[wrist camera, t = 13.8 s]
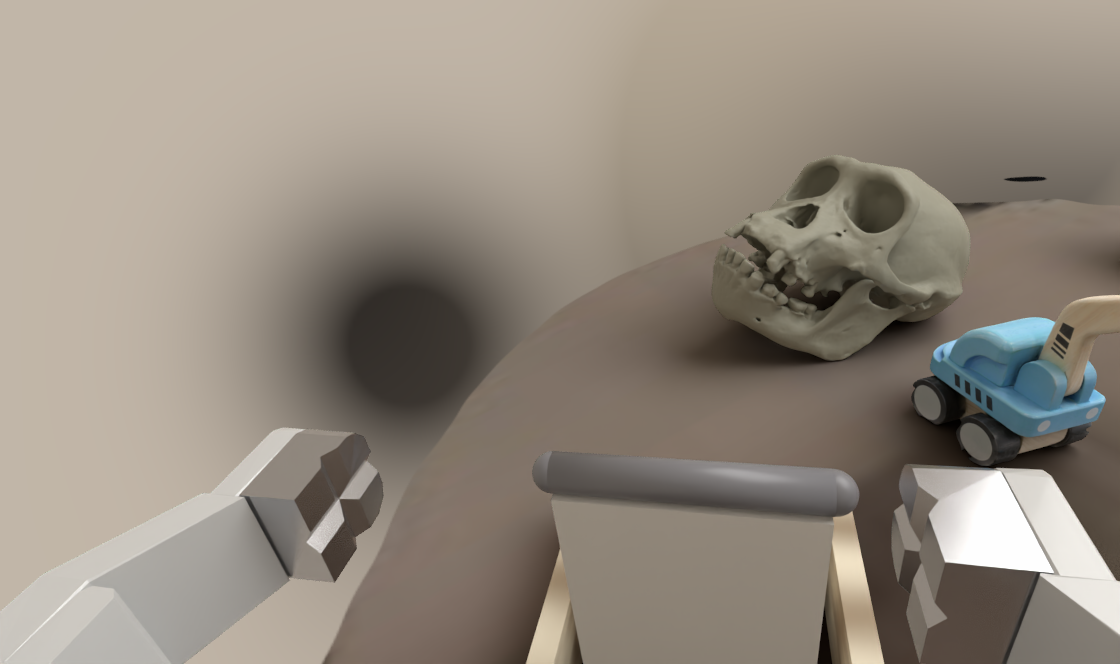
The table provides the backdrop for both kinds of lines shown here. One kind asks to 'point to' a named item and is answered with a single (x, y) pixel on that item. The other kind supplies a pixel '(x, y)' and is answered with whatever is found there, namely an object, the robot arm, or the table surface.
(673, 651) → the trolley
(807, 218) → the skull
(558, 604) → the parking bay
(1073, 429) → the toy excavator
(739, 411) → the table surface
